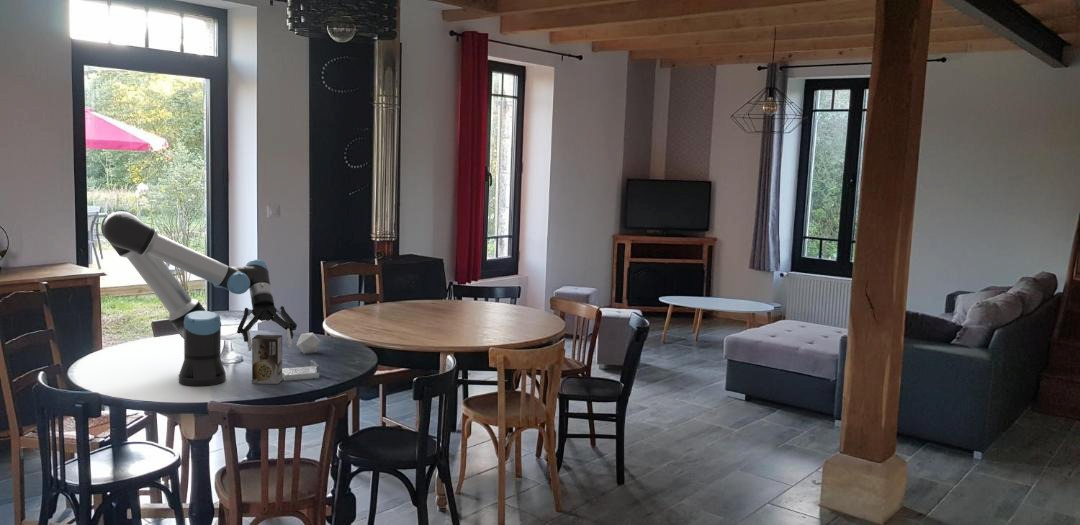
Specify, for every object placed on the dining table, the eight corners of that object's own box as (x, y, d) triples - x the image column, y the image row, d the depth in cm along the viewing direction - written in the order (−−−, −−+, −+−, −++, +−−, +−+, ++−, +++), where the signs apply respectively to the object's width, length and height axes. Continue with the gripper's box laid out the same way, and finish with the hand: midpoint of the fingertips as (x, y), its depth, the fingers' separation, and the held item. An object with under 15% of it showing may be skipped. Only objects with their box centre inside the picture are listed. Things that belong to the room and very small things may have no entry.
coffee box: (282, 379, 298) (283, 334, 296) (277, 384, 291) (278, 338, 289) (256, 378, 297) (257, 333, 295) (251, 383, 291) (251, 337, 289)
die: (314, 350, 347) (299, 332, 345) (327, 343, 342) (313, 324, 340) (303, 361, 340) (288, 342, 338) (317, 354, 335) (302, 335, 333)
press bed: (284, 380, 296) (285, 368, 296) (278, 374, 305) (279, 362, 304) (319, 378, 302) (319, 366, 301) (312, 371, 311) (312, 359, 310)
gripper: (226, 293, 296) (234, 343, 285) (298, 290, 308) (308, 339, 297) (224, 305, 301) (231, 355, 290) (295, 302, 313) (304, 350, 302)
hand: (270, 347), depth 293 cm, fingers open, 13 cm apart
